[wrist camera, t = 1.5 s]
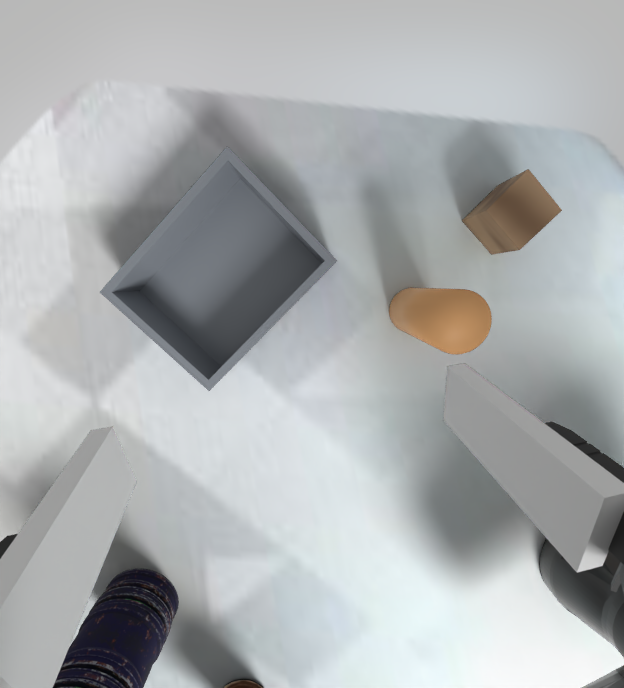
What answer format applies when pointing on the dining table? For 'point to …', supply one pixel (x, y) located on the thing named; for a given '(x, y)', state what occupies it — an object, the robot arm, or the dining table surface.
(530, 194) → the walnut cube
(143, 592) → the storage jar
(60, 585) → the robot arm
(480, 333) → the tan dome-topped cylinder
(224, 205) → the tote
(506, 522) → the dining table surface
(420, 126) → the dining table surface
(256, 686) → the coffee cup
